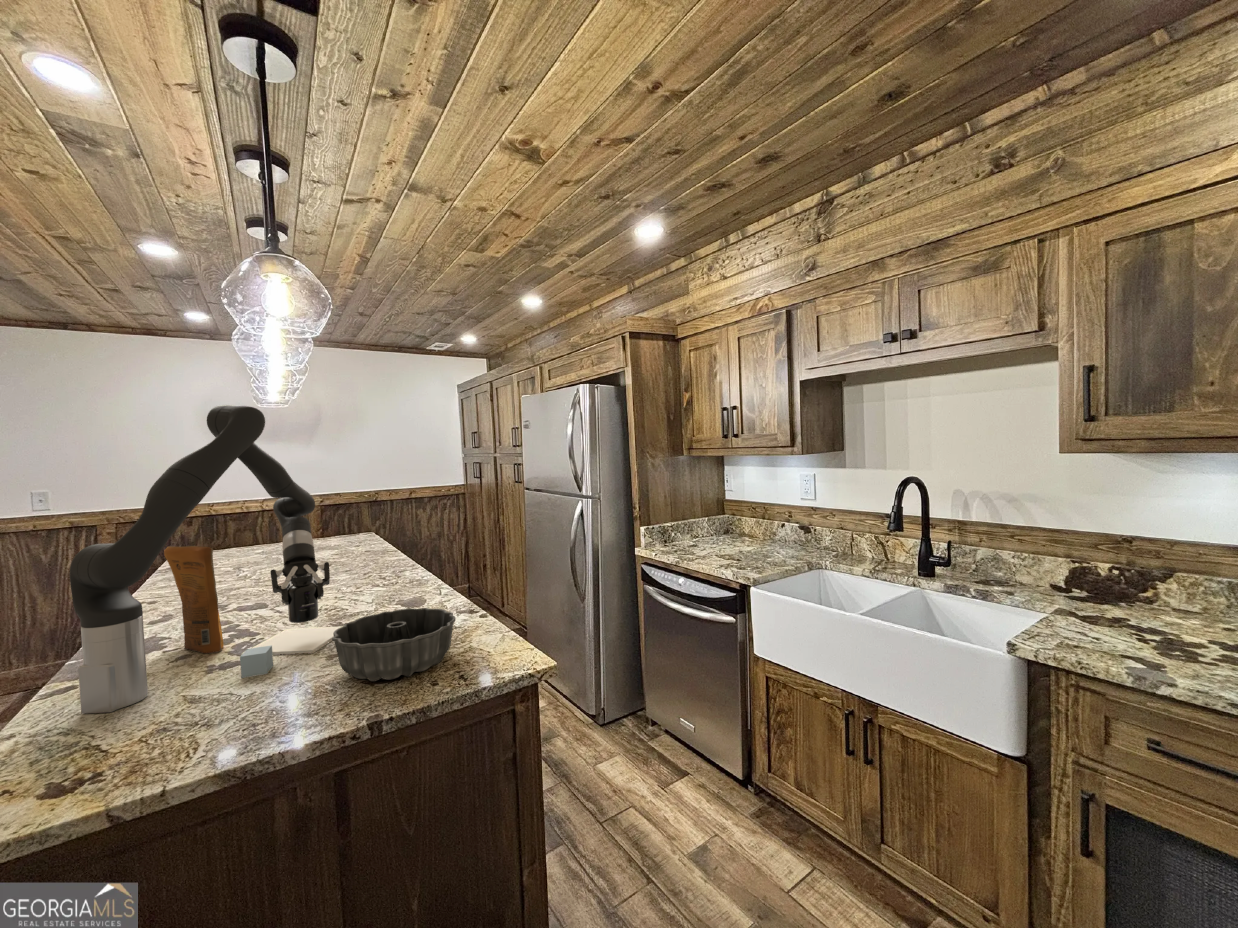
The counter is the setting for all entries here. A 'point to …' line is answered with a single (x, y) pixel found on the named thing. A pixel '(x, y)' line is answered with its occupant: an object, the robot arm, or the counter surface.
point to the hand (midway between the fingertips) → (303, 600)
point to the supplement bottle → (302, 599)
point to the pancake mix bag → (197, 596)
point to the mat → (299, 640)
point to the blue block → (256, 661)
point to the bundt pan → (394, 643)
